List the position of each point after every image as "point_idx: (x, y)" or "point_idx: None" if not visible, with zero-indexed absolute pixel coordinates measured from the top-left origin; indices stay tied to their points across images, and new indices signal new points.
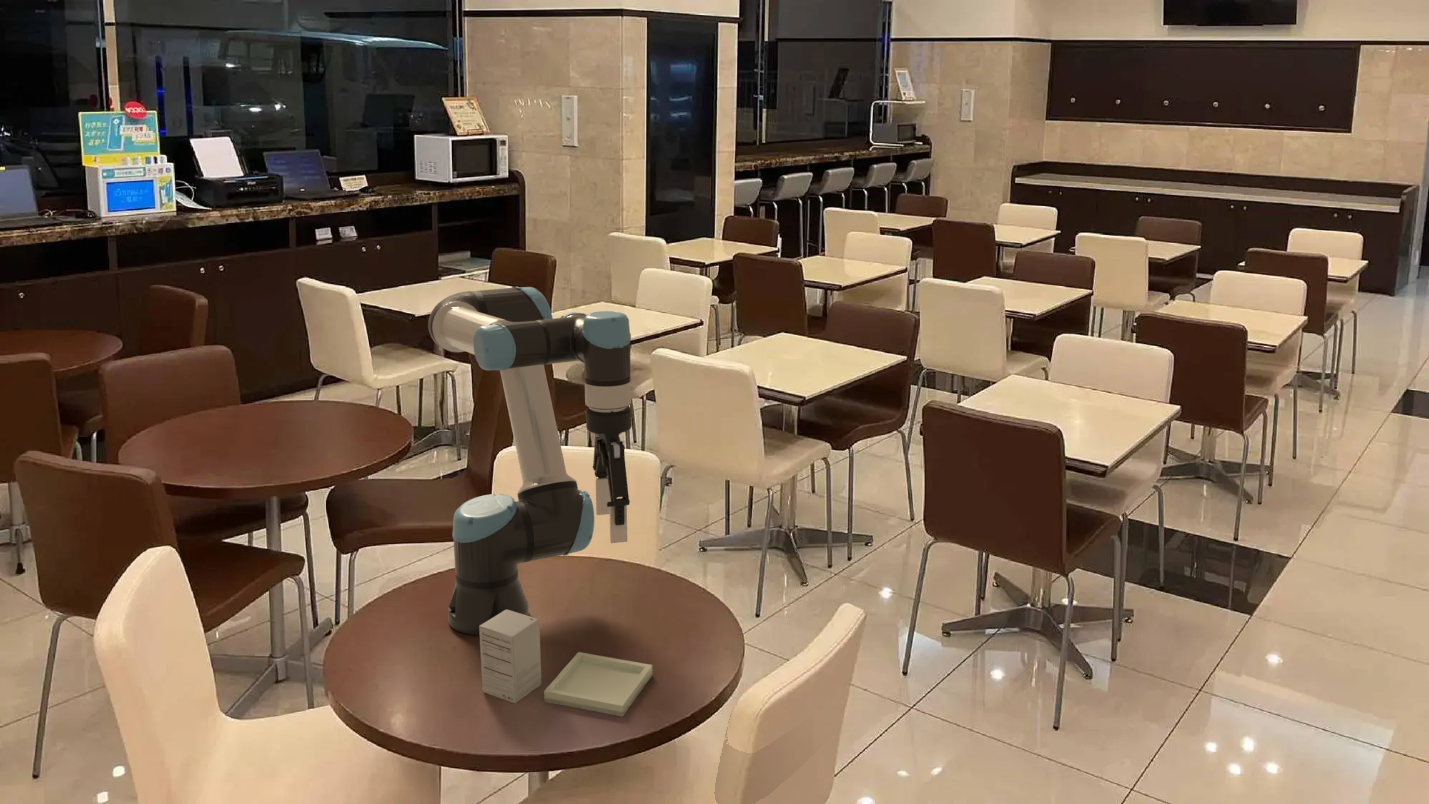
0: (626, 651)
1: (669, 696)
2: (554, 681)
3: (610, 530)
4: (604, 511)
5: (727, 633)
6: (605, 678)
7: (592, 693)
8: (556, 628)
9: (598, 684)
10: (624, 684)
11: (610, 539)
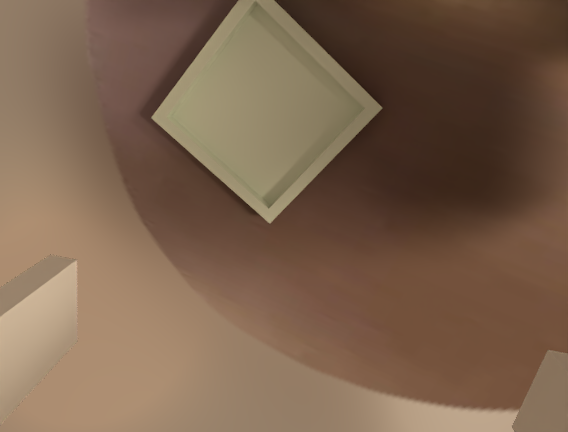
0: (376, 208)
1: (197, 214)
2: (283, 15)
3: (6, 295)
4: (540, 403)
5: (354, 380)
6: (279, 130)
7: (236, 86)
8: (549, 110)
9: (264, 109)
10: (245, 155)
11: (59, 265)
